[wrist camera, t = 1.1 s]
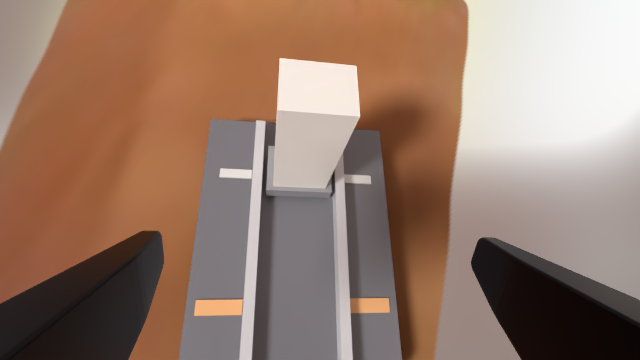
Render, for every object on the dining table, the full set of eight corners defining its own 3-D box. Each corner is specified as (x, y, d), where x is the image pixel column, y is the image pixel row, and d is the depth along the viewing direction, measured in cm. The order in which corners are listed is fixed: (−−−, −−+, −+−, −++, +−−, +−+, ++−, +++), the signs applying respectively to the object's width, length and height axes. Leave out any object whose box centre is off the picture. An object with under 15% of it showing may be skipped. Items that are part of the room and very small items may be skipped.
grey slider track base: (391, 376, 19) (412, 387, 17) (183, 386, 18) (168, 400, 15) (371, 143, 25) (384, 123, 23) (215, 133, 24) (208, 110, 21)
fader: (328, 197, 21) (370, 122, 12) (266, 195, 20) (266, 114, 12) (327, 156, 22) (365, 62, 14) (268, 152, 21) (270, 52, 13)
